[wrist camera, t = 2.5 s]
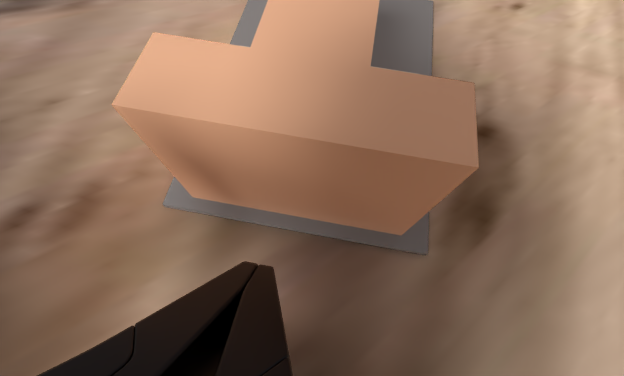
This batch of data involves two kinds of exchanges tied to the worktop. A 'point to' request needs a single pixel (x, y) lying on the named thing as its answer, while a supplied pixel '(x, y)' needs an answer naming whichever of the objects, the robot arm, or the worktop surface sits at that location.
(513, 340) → the worktop surface
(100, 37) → the worktop surface
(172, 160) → the t block
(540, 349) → the worktop surface
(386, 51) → the mat
